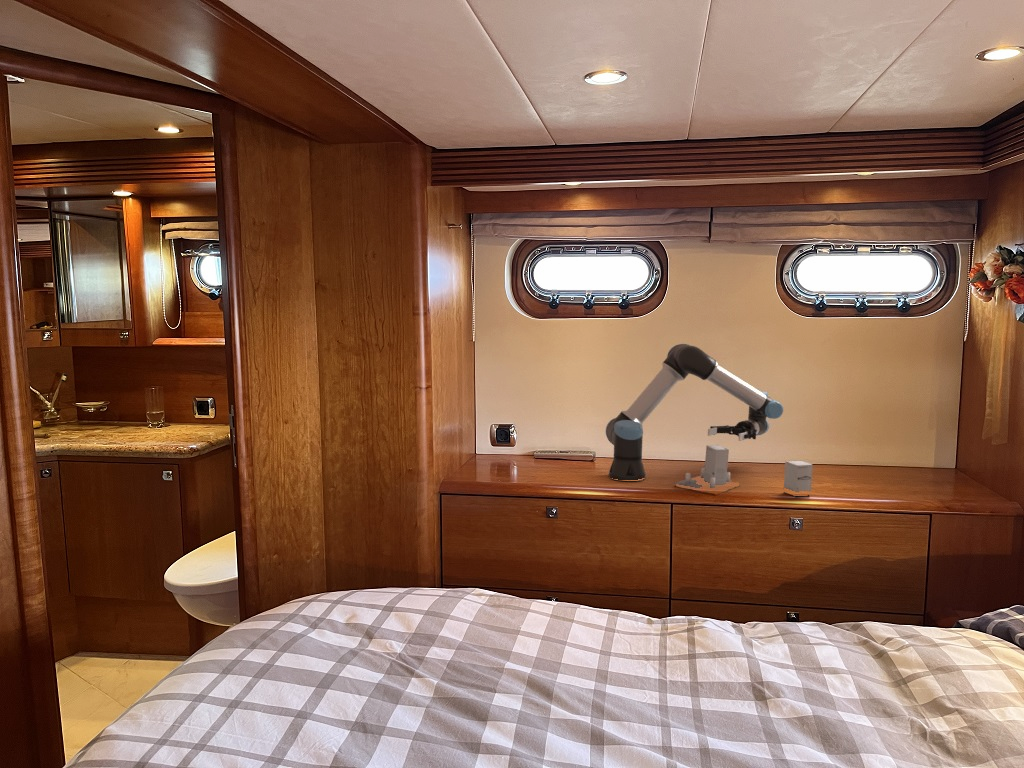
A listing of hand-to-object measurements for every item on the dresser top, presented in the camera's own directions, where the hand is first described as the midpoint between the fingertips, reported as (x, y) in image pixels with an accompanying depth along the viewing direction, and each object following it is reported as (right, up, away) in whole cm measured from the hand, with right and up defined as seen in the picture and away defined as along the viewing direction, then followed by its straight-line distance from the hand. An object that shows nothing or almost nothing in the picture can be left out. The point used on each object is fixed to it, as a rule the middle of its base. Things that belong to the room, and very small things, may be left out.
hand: (723, 434), depth 304 cm
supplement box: (+24, -22, -17) cm, 36 cm away
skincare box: (-5, -19, -6) cm, 21 cm away
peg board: (-8, -20, -6) cm, 23 cm away
